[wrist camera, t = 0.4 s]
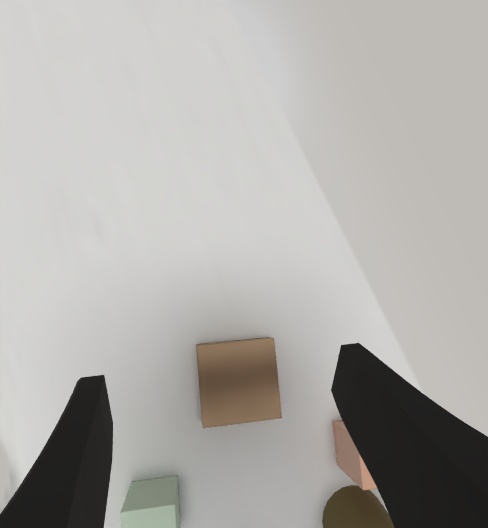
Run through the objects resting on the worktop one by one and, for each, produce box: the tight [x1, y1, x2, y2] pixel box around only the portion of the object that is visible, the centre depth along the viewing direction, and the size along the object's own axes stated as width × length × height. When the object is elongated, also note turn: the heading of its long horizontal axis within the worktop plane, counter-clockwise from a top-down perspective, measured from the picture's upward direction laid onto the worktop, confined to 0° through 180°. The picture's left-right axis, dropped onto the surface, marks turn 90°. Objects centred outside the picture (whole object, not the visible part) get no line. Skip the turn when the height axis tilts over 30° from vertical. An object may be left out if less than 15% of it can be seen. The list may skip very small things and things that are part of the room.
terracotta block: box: [332, 420, 377, 490], centre depth 36 cm, size 4×4×6 cm
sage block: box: [120, 476, 180, 528], centre depth 33 cm, size 4×4×6 cm
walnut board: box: [196, 337, 282, 428], centre depth 37 cm, size 7×7×3 cm
